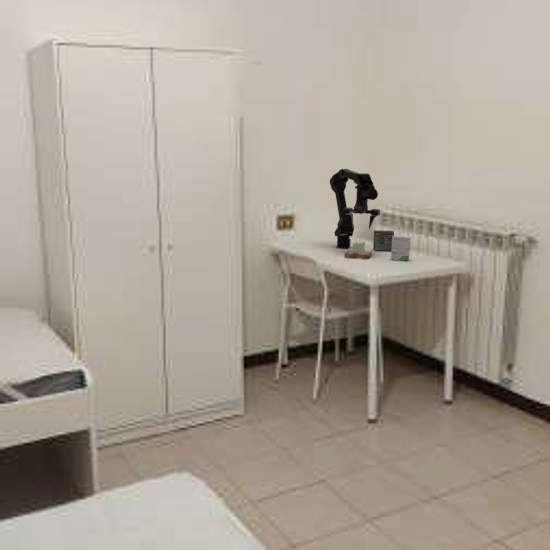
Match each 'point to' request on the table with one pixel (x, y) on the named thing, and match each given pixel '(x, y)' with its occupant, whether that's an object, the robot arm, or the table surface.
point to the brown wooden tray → (358, 254)
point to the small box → (383, 240)
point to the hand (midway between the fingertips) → (360, 228)
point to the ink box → (400, 248)
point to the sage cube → (358, 247)
